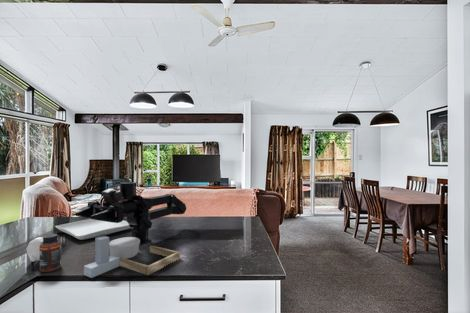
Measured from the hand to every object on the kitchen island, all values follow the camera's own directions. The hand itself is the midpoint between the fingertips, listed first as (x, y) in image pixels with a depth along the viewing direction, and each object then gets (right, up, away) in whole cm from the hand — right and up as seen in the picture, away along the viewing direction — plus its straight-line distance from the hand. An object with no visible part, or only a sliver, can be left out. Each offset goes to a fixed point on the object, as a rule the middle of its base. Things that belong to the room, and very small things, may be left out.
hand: (83, 216), depth 93 cm
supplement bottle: (-8, -17, -5) cm, 19 cm away
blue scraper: (+10, -17, -6) cm, 21 cm away
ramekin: (+12, -17, +7) cm, 22 cm away
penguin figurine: (-16, -17, +4) cm, 24 cm away
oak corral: (+24, -17, 0) cm, 29 cm away
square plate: (-16, -17, +38) cm, 45 cm away
